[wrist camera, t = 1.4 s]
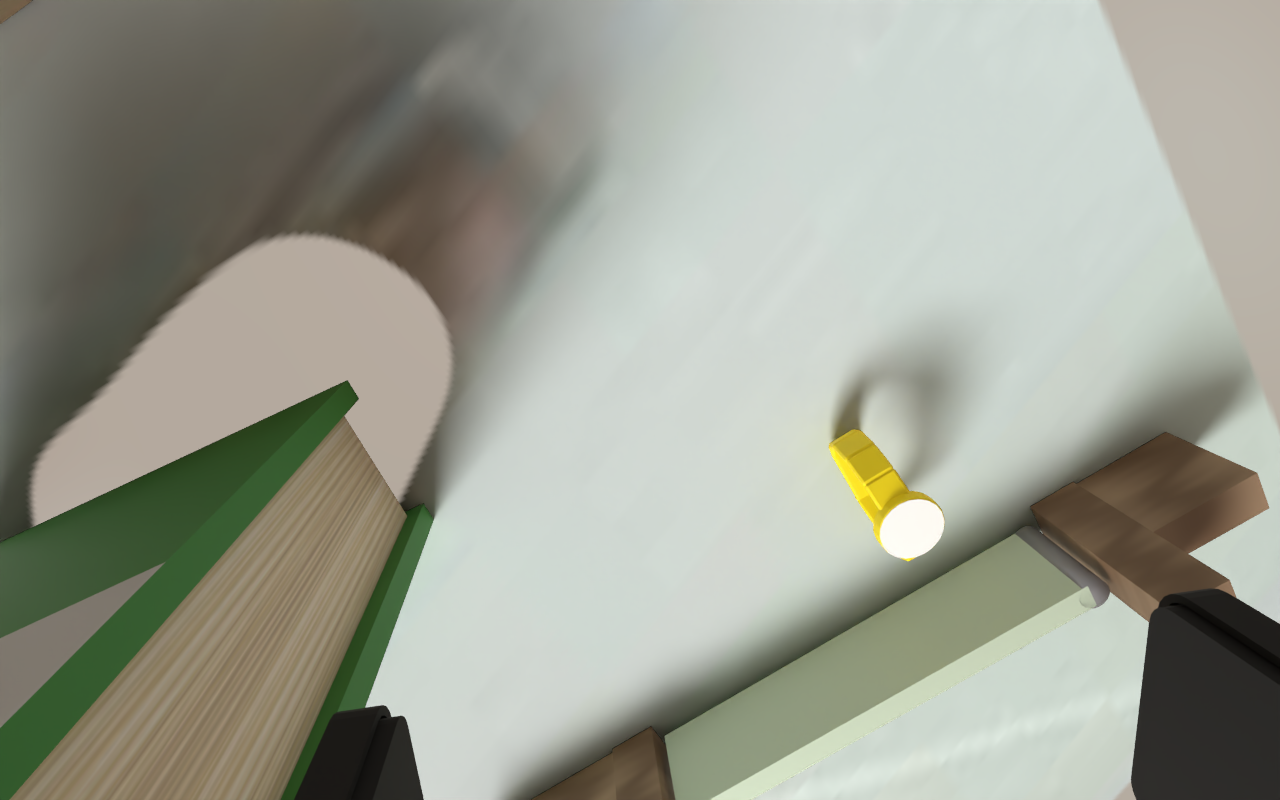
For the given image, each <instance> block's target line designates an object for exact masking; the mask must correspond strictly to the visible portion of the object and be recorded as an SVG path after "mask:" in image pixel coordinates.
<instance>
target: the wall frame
mask: <svg viewBox="0 0 1280 800" xmlns="http://www.w3.org/2000/svg"><path fill="white" fill-rule="evenodd" d="M1030 508H1031V510H1032V512H1033V514H1034V516H1035V518H1036V520H1037V522H1038V524H1039V526H1040V529H1041V531H1042V533H1043V534H1044V535H1045V536H1046V537H1047V538H1049V539H1050V540H1051V541H1053V542H1054V543H1055V544H1056V545H1058V546H1059V547H1060V548H1062V549H1063V550H1064V551H1065V552H1067V553H1068V554H1069V555H1071V556H1072V557H1073V558H1075V559H1076V560H1077V561H1078V562H1080V563H1081V564H1082V565H1084V566H1085V567H1086V568H1087V569H1089V570H1090V571H1091V572H1093V573H1094V574H1095V575H1096V576H1098V577H1099V578H1100V579H1102V580H1103V581H1104V582H1105V583H1107V584H1108V586H1109V588H1110V592H1111V593H1112V594H1114V595H1115V596H1116V597H1118V598H1119V599H1120V600H1121V601H1123V602H1124V603H1125V604H1126V605H1128V606H1129V607H1130V608H1132V609H1133V610H1134V611H1135V612H1137V613H1138V614H1139V615H1140V616H1142V617H1143V618H1144V619H1146V620H1147V621H1148V622H1149V620H1150V616H1151V613H1152V612H1153V611H1154V610H1155V609H1157V608H1158V606H1159V602H1160V601H1161V600H1162V599H1163V597H1164V596H1167V595H1169V594H1173V593H1180V592H1187V591H1194V590H1201V589H1209V588H1212V589H1220V590H1222V591H1224V592H1227V593H1229V594H1230V595H1232V596H1234V597H1235V598H1236V595H1235V593H1234V590H1233V587H1232V585H1231V582H1230V580H1229V579H1227V578H1226V577H1224V576H1223V575H1221V574H1219V573H1218V572H1216V571H1215V570H1213V569H1211V568H1210V567H1208V566H1207V565H1205V564H1203V563H1202V562H1200V561H1199V560H1197V559H1195V558H1194V557H1192V556H1191V555H1189V554H1188V553H1190V552H1192V551H1194V550H1196V549H1197V548H1199V547H1201V546H1203V545H1204V544H1206V543H1208V542H1210V541H1212V540H1213V539H1215V538H1217V537H1219V536H1221V535H1222V534H1224V533H1226V532H1228V531H1229V530H1231V529H1233V528H1235V527H1237V526H1238V525H1240V524H1242V523H1244V522H1245V521H1247V520H1249V519H1251V518H1253V517H1254V516H1256V515H1258V514H1260V513H1261V512H1263V511H1265V510H1267V509H1269V506H1268V503H1267V500H1266V497H1265V494H1264V491H1263V488H1262V485H1261V482H1260V480H1259V477H1258V474H1257V473H1256V472H1254V471H1252V470H1249V469H1247V468H1245V467H1243V466H1241V465H1238V464H1236V463H1234V462H1232V461H1229V460H1227V459H1225V458H1223V457H1220V456H1218V455H1216V454H1214V453H1211V452H1209V451H1207V450H1205V449H1203V448H1200V447H1198V446H1196V445H1194V444H1191V443H1189V442H1187V441H1185V440H1182V439H1180V438H1178V437H1176V436H1173V435H1171V434H1169V433H1167V432H1165V433H1163V434H1162V435H1160V436H1158V437H1156V438H1155V439H1153V440H1151V441H1150V442H1148V443H1146V444H1144V445H1143V446H1141V447H1139V448H1137V449H1136V450H1134V451H1132V452H1131V453H1129V454H1127V455H1125V456H1124V457H1122V458H1120V459H1118V460H1117V461H1115V462H1113V463H1112V464H1110V465H1108V466H1106V467H1105V468H1103V469H1101V470H1099V471H1098V472H1096V473H1094V474H1093V475H1091V476H1089V477H1087V478H1086V479H1084V480H1082V481H1080V482H1079V483H1077V484H1076V483H1074V482H1072V483H1070V484H1069V485H1067V486H1065V487H1063V488H1062V489H1060V490H1058V491H1057V492H1055V493H1053V494H1051V495H1050V496H1048V497H1046V498H1044V499H1043V500H1041V501H1039V502H1038V503H1036V504H1034V505H1032V506H1031V507H1030ZM612 750H613V753H611V754H609V755H607V756H606V757H604V758H602V759H600V760H599V761H597V762H595V763H594V764H592V765H590V766H588V767H587V768H585V769H583V770H581V771H580V772H578V773H576V774H575V775H573V776H571V777H569V778H568V779H566V780H564V781H562V782H561V783H559V784H557V785H556V786H554V787H552V788H550V789H549V790H547V791H545V792H543V793H542V794H540V795H538V796H537V797H535V798H533V799H531V800H675V794H674V788H673V783H672V777H671V771H670V765H669V760H668V754H667V748H666V745H665V744H664V742H663V741H662V740H661V739H660V737H659V736H658V735H657V734H656V732H655V731H654V730H653V729H652V727H649V728H648V729H646V730H644V731H643V732H641V733H639V734H637V735H636V736H634V737H632V738H630V739H629V740H627V741H625V742H624V743H622V744H620V745H618V746H617V747H615V748H613V749H612Z"/></svg>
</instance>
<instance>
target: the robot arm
mask: <svg viewBox="0 0 1280 800" xmlns="http://www.w3.org/2000/svg"><path fill="white" fill-rule="evenodd" d="M1131 784H1132V788H1133V792H1134V795H1135V797H1136V799H1137V800H1280V624H1279V623H1277V622H1275V621H1274V620H1272V619H1270V618H1269V617H1267V616H1265V615H1264V614H1262V613H1260V612H1259V611H1257V610H1255V609H1254V608H1252V607H1250V606H1249V605H1247V604H1245V603H1244V602H1242V601H1240V600H1239V599H1237V598H1235V597H1234V596H1232V595H1230V594H1229V593H1227V592H1224V591H1222V590H1220V589H1212V588H1209V589H1201V590H1194V591H1187V592H1180V593H1173V594H1169V595H1167V596H1164V597H1163V599H1162V600H1161V601H1160V602H1159V606H1158V608H1157V609H1155V610H1154V611H1153V612H1152V613H1151V616H1150V620H1149V628H1148V637H1147V646H1146V654H1145V663H1144V672H1143V680H1142V689H1141V698H1140V706H1139V715H1138V723H1137V732H1136V741H1135V749H1134V758H1133V767H1132V775H1131ZM294 800H424V799H423V794H422V790H421V785H420V780H419V776H418V771H417V766H416V762H415V757H414V752H413V748H412V743H411V738H410V734H409V729H408V725H407V721H406V719H405V717H403V716H397V717H391V714H390V711H389V710H388V708H387V707H386V706H384V705H382V706H375V707H368V708H361V709H354V710H346V711H339V712H336V713H335V714H333V716H332V717H331V719H330V720H329V723H328V725H327V727H326V729H325V731H324V734H323V736H322V738H321V740H320V743H319V745H318V747H317V749H316V752H315V754H314V756H313V758H312V760H311V763H310V765H309V767H308V769H307V772H306V774H305V776H304V778H303V781H302V783H301V785H300V787H299V789H298V792H297V794H296V796H295V798H294Z"/></svg>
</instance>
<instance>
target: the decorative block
mask: <svg viewBox="0 0 1280 800" xmlns="http://www.w3.org/2000/svg"><path fill="white" fill-rule="evenodd" d="M31 1H33V0H0V24H1V23H3V22H4V21H5V20H7V19H8V18H9V17H11V16H12V15H14V14H15V13H16V12H18V11H19V10H20V9H22V8H23V7H25V6H26V5H27V4H29V3H30V2H31Z"/></svg>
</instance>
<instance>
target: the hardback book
mask: <svg viewBox="0 0 1280 800" xmlns="http://www.w3.org/2000/svg"><path fill="white" fill-rule="evenodd" d="M358 399H359V398H358V397H357V395H356V393H355V392H354V390H353V388H352V387H351V386H350V383H349V382H348V381H345V382H343V383H340V384H339V385H336V386H334V387H332V388H330V389H327V390H326V391H323V392H321V393H319V394H317V395H315V396H313V397H310V398H308V399H306V400H304V401H302V402H300V403H298V404H296V405H293V406H291V407H289V408H287V409H285V410H283V411H280V412H278V413H276V414H274V415H272V416H270V417H268V418H265V419H263V420H261V421H259V422H257V423H255V424H253V425H250V426H249V427H246V428H244V429H242V430H240V431H238V432H235V433H233V434H231V435H229V436H227V437H225V438H223V439H220V440H219V441H216V442H214V443H212V444H210V445H208V446H206V447H203V448H201V449H199V450H197V451H195V452H193V453H191V454H188V455H186V456H184V457H182V458H180V459H178V460H176V461H174V462H171V463H169V464H167V465H165V466H163V467H161V468H158V469H157V470H154V471H152V472H150V473H148V474H146V475H143V476H141V477H139V478H137V479H135V480H133V481H131V482H129V483H126V484H124V485H122V486H120V487H118V488H116V489H113V490H111V491H109V492H107V493H105V494H103V495H101V496H99V497H96V498H94V499H92V500H90V501H88V502H86V503H84V504H81V505H79V506H77V507H75V508H73V509H71V510H69V511H67V512H64V513H62V514H60V515H58V516H56V517H54V518H51V519H50V520H47V521H45V522H43V523H41V524H39V525H36V526H34V527H32V528H30V529H28V530H26V531H24V532H21V533H19V534H17V535H15V536H13V537H11V538H9V539H7V540H4V541H2V542H0V800H294V798H295V796H296V794H297V792H298V789H299V787H300V785H301V783H302V781H303V778H304V776H305V774H306V772H307V769H308V767H309V765H310V763H311V760H312V758H313V756H314V754H315V752H316V749H317V747H318V745H319V743H320V740H321V738H322V736H323V734H324V731H325V729H326V727H327V725H328V723H329V720H330V719H331V717H332V716H333V714H335V713H336V712H339V711H346V710H354V709H361V708H365V706H366V703H367V700H368V698H369V695H370V692H371V690H372V687H373V684H374V681H375V679H376V676H377V673H378V670H379V668H380V665H381V662H382V660H383V657H384V654H385V651H386V649H387V646H388V643H389V640H390V638H391V635H392V632H393V629H394V627H395V624H396V621H397V619H398V616H399V613H400V610H401V608H402V605H403V602H404V599H405V597H406V594H407V591H408V589H409V586H410V583H411V580H412V578H413V575H414V572H415V569H416V567H417V564H418V561H419V559H420V556H421V553H422V550H423V548H424V545H425V542H426V539H427V537H428V534H429V531H430V528H431V526H432V523H433V518H432V516H431V515H430V513H429V511H428V510H427V508H426V507H425V505H424V503H423V504H421V505H419V506H417V507H415V508H413V509H410V510H408V511H406V512H404V510H403V509H402V507H401V505H400V504H399V502H398V501H397V499H396V497H395V496H394V494H393V493H392V491H391V490H390V488H389V486H388V485H387V483H386V482H385V480H384V479H383V477H382V475H381V474H380V472H379V471H378V469H377V468H376V466H375V464H374V463H373V461H372V459H371V458H370V456H369V455H368V453H367V451H366V450H365V448H364V447H363V445H362V444H361V442H360V440H359V439H358V437H357V436H356V434H355V432H354V431H353V429H352V428H351V426H350V425H349V423H348V421H347V420H346V419H345V417H344V415H345V414H346V413H347V412H348V411H349V410H350V408H351V407H352V406H353V405H354V404H355V402H356V401H357V400H358Z"/></svg>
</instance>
